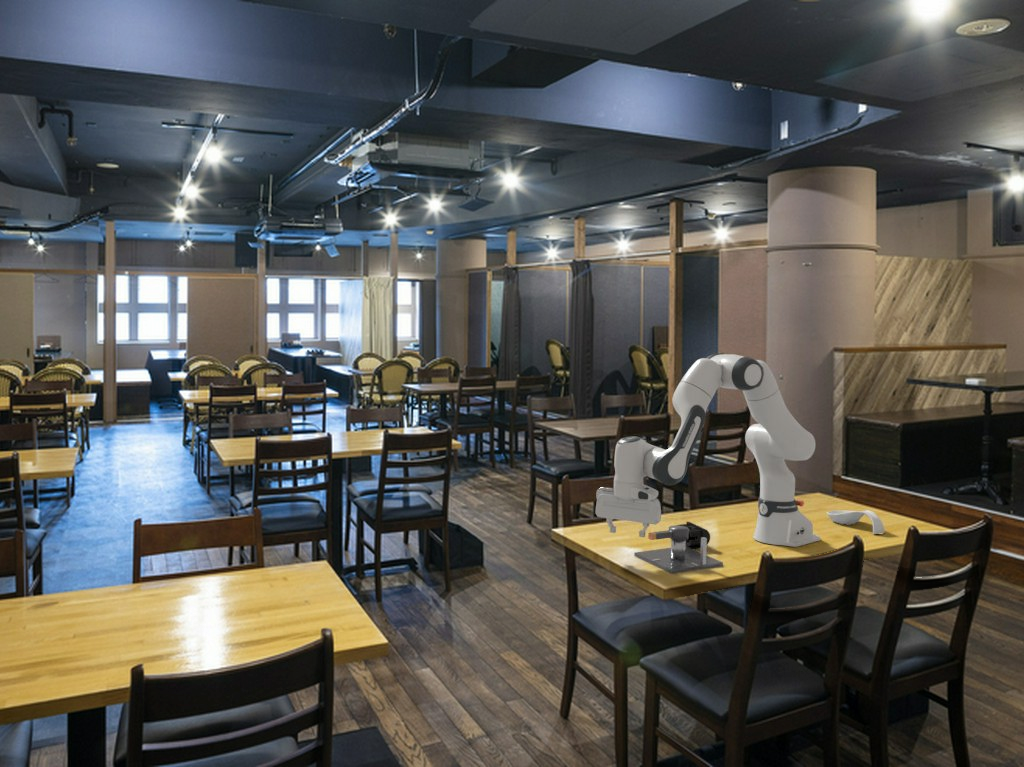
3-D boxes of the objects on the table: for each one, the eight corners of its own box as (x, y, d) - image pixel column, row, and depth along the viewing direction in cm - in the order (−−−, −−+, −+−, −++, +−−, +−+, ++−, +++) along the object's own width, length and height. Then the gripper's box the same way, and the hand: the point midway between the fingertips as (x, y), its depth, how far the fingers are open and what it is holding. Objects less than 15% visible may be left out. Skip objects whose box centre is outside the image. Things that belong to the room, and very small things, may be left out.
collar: (680, 534, 249) (680, 524, 249) (692, 539, 244) (692, 529, 243) (644, 538, 243) (644, 529, 243) (655, 543, 238) (656, 534, 238)
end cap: (710, 548, 259) (710, 528, 259) (691, 550, 257) (691, 529, 257) (693, 540, 269) (694, 520, 268) (675, 542, 267) (675, 522, 266)
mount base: (683, 548, 258) (684, 521, 258) (722, 565, 241) (723, 536, 240) (634, 555, 250) (635, 527, 249) (671, 573, 233) (672, 543, 232)
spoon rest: (819, 520, 299) (820, 501, 298) (845, 518, 303) (846, 499, 302) (866, 536, 277) (867, 516, 276) (893, 534, 280) (894, 514, 280)
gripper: (592, 488, 246) (591, 532, 247) (656, 495, 236) (655, 541, 238) (600, 484, 252) (599, 527, 253) (663, 491, 242) (662, 536, 243)
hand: (627, 534), depth 245 cm, fingers open, 8 cm apart
